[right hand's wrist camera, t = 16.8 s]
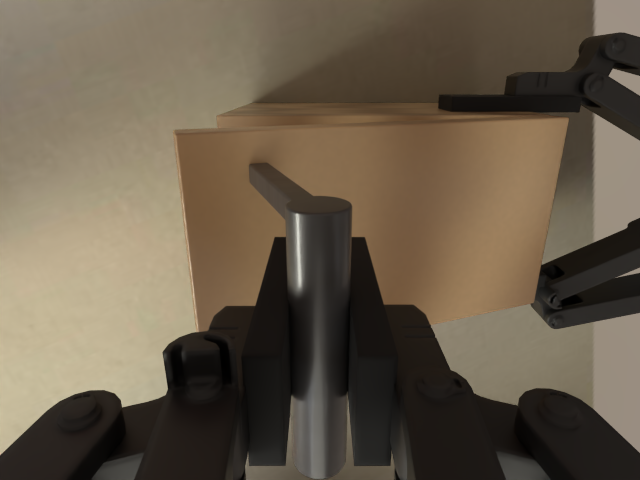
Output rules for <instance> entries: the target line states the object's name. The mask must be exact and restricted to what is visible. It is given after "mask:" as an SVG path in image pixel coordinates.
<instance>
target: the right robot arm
mask: <svg viewBox="0 0 640 480" xmlns="http://www.w3.org/2000/svg"><path fill="white" fill-rule="evenodd" d="M163 358H164V365H165V371H166V378H167V385H168V391H167V393H166V395H165V396H163V397H161V398H159V399H156V400H152V401H149V402H145V403H141V404H136V405H132V406H127V407H123V408H122V405H121V400H120V399H119V398H118V397H117V396H116V395H115V394H114V393H111V392H108V391H105V390H95V391H87V392H83V393H78V394H75V395H72V396H70V397H68V398H66V399H64V400H62V401H60V402H58V403H57V404H56V405H54V406H53V407H52V408H50V409H49V410H48V411H46V412H45V413H44V414H43V415H42V416H41V417H40V418H39V419H38V420H37V421H36V422H35V423H34V424H33V425H32V426H31V427H30V428H29V429H28V430H26V431H25V432H24V433H23V434H22V435H21V436H20V437H19V438H18V439H17V440H16V441H15V442H14V443H13V444H12V445H11V446H10V447H9V448H8V449H7V450H5V451H4V452H3V453H2V454H1V455H0V480H246V474H245V464H246V459H247V454H248V455H249V466H285V464H286V453H287V441H288V430H289V418H290V407H291V396H292V393H291V358H290V323H289V300H288V288H287V256H286V237H275V238H274V241H273V245H272V248H271V252H270V255H269V259H268V262H267V266H266V270H265V273H264V277H263V280H262V284H261V287H260V291H259V294H258V298H257V302H256V305H255V306H225V307H224V308H223V309H222V310H220V311H219V312H218V313H217V314H216V315H214V317H213V319H212V321H211V324H210V326H209V330H208V331H202V332H195V333H190V334H188V335H185V336H182V337H179V338H178V339H176V340H175V341H173V342H171V343H170V344H169V345H168V346H167V347H166V348H165V350H164V351H163ZM348 400H349V412H350V423H351V434H352V446H353V457H354V466H390V463H391V449H392V454H393V459H394V464H395V474H394V480H640V453H639V452H638V451H637V450H636V449H635V448H634V447H633V446H632V445H631V444H630V443H629V442H627V441H626V440H625V439H624V438H623V437H622V436H621V435H620V434H619V433H618V432H617V431H616V430H615V429H614V428H613V427H612V426H611V425H609V424H608V423H607V422H606V421H605V420H604V419H603V418H602V417H601V416H600V415H599V414H598V413H597V412H596V411H595V410H594V409H593V408H591V407H590V406H588V405H587V404H586V403H584V402H583V401H582V400H580V399H578V398H576V397H574V396H572V395H570V394H567V393H565V392H561V391H557V390H553V389H541V388H536V389H532V390H529V391H526V392H525V393H524V394H523V395H522V396H521V397H520V398H519V402H518V406H516V405H512V404H507V403H503V402H498V401H494V400H490V399H487V398H484V397H481V396H478V395H476V394H474V393H473V390H472V388H471V386H470V385H469V383H468V382H467V380H466V379H464V378H463V377H462V376H460V375H459V374H458V373H456V372H454V371H451V370H450V368H449V366H448V363H447V361H446V359H445V357H444V354H443V352H442V350H441V348H440V345H439V343H438V341H437V339H436V338H435V334H434V332H433V330H432V328H431V325H430V323H429V321H428V318H427V316H426V314H425V313H423V312H422V311H421V310H420V309H418V308H417V307H416V306H415V305H384V303H383V300H382V296H381V292H380V289H379V285H378V282H377V278H376V275H375V271H374V267H373V264H372V260H371V257H370V253H369V250H368V246H367V242H366V239H365V237H352V243H351V282H350V321H349V360H348Z"/></svg>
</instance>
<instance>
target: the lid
mask: <svg viewBox="0 0 640 480" xmlns="http://www.w3.org/2000/svg"><path fill="white" fill-rule="evenodd" d="M568 122H569V118H568V117H559V116H549V115H547V116H522V117H496V118H470V119H444V120H418V121H392V122H366V123H340V124H314V125H288V126H262V127H237V128H211V129H185V130H174V131H173V136H174V144H175V153H176V162H177V170H178V179H179V187H180V196H181V204H182V213H183V222H184V230H185V239H186V247H187V256H188V264H189V273H190V282H191V290H192V299H193V307H194V316H195V325H196V332H202V331H208V330H209V326H210V324H211V321H212V319H213V317H214V315H216V314H217V313H218V312H219V311H220V310H222V309H223V308H224V307H225V306H255V305H256V302H257V298H258V294H259V291H260V287H261V284H262V280H263V277H264V273H265V270H266V266H267V262H268V259H269V255H270V252H271V248H272V245H273V241H274V238H275V237H286V256H287V288H288V300H289V323H290V358H291V393H292V396H291V407H290V414H291V418H292V451H293V462H294V465H295V467H296V468H297V470H298V471H299V472H300V473H301V474H303V475H304V476H306V477H309V478H312V479H326V478H330V477H332V476H334V475H336V474H337V473H338V472H339V471H340V470H341V469H342V468H343V466H344V464H345V461H346V441H347V401H348V360H349V321H350V282H351V243H352V237H365V239H366V242H367V246H368V250H369V253H370V257H371V260H372V264H373V267H374V271H375V275H376V278H377V282H378V285H379V289H380V292H381V296H382V300H383V303H384V305H415V306H416V307H417V308H418V309H420V310H421V311H422V312H423V313H425V314H426V316H427V318H428V321H429V323H430V325H433V324H437V323H442V322H447V321H451V320H456V319H461V318H465V317H470V316H475V315H479V314H484V313H489V312H493V311H498V310H503V309H507V308H512V307H516V306H521V305H526V304H530V303H534V299H535V294H536V289H537V284H538V279H539V273H540V268H541V263H542V258H543V252H544V247H545V242H546V237H547V232H548V226H549V221H550V216H551V211H552V205H553V200H554V195H555V190H556V185H557V179H558V174H559V169H560V164H561V158H562V153H563V148H564V143H565V137H566V132H567V127H568Z"/></svg>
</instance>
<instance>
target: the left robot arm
mask: <svg viewBox="0 0 640 480" xmlns="http://www.w3.org/2000/svg"><path fill="white" fill-rule="evenodd" d="M612 69H617V70H621V71H624V72H628V73H632V74H635V75H639V76H640V37H637V36H634V35H630V34H627V33H613V34H607V35H600V36H593V37H589V38H586V39H585V40H584V41H583V42H582V43H581V45H580V47H579V58H578V59H577V61H576V63H575V64H574V66H573V67H572V68H571V69H569V70H568V71H565V72H518V73H514V74H512V75H509V76H507V79H506V86H505V93H504V95H439V104H438V108H439V109H442V110H446V111H450V112H579V111H580V106H581V105H582V106H584V107H585V108H587V109H589V110H590V111H592V112H594V113H595V114H597V115H599V116H600V117H602V118H604V119H605V120H607V121H609V122H610V123H612V124H613V125H615V126H617V127H618V128H620V129H622V130H623V131H625V132H627V133H628V134H630V135H632V136H633V137H635V138H637V139H638V140H640V96H639V95H637V94H636V93H634V92H633V91H631V90H629V89H628V88H626V87H625V86H623V85H621V84H620V83H618V82H617V81H615V80H613V79H612V78H610V77H609V74H610V72H611V70H612ZM637 268H640V218H639V219H636V220H634V221H632V222H630V223H629V224H628V227H627V228H626V229H624V230H622V231H620V232H617V233H615V234H613V235H611V236H608V237H606V238H604V239H601V240H599V241H597V242H594V243H592V244H590V245H587V246H585V247H583V248H580V249H578V250H576V251H573V252H571V253H569V254H566V255H564V256H562V257H559V258H557V259H555V260H552V261H550V262H548V263H546V264H543V265H541V268H540V273H539V279H538V284H537V289H536V294H535V299H534V303H530V304H531V306H532V307H533V309H534V310H535V311H536V312H537V313H538V314H539V315H540V316H541V317H542V319H543V320H544V321H545V322H546V323H547V324H548V325H549V326H550V327H551V328H553V329H560V328H565V327H570V326H575V325H580V324H585V323H590V322H595V321H600V320H605V319H610V318H615V317H621V316H626V315H631V314H636V313H640V273H638V274H633V275H628V276H623V277H618V276H620V275H623V274H625V273H628V272H630V271H632V270H635V269H637ZM615 277H618V278H615Z"/></svg>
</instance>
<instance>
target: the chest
mask: <svg viewBox="0 0 640 480" xmlns="http://www.w3.org/2000/svg"><path fill="white" fill-rule="evenodd" d="M438 104H439V103H251V104H248V105H245V106H242V107H240V108H237V109H234V110H231V111H229V112H226V113H223V114H220V115H218V116H217V128H237V127H262V126H288V125H314V124H340V123H366V122H392V121H418V120H444V119H470V118H496V117H522V116H547V114H541V113H535V112H450V111H446V110H442V109H439V108H438ZM549 116H551V115H549Z"/></svg>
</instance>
